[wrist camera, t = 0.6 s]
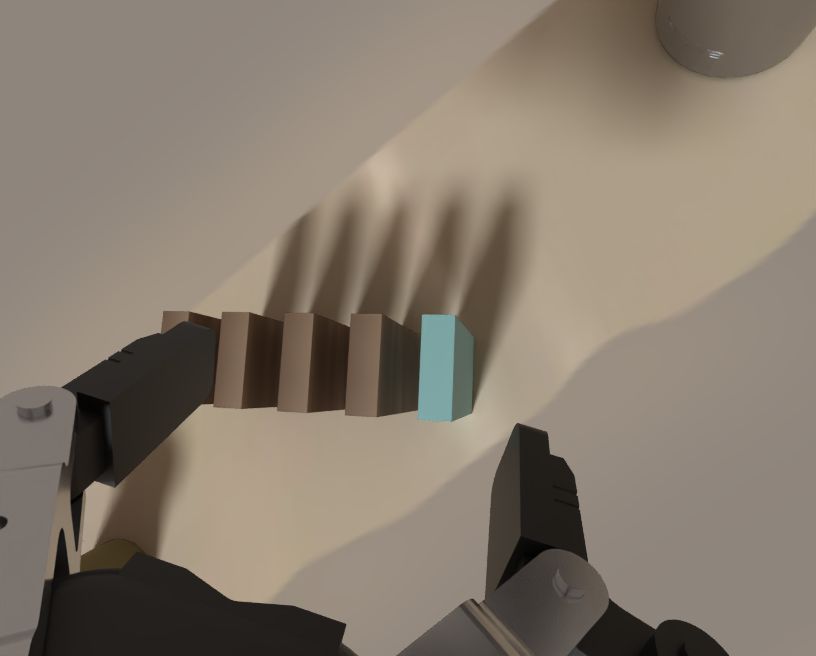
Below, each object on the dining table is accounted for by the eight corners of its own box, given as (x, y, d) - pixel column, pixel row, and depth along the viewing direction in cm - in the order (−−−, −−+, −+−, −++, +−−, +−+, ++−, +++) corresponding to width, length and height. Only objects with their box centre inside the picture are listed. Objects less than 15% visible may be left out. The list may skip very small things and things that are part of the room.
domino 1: (277, 333, 36) (189, 311, 27) (271, 402, 36) (179, 405, 26) (257, 332, 37) (163, 311, 27) (251, 400, 36) (153, 403, 26)
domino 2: (323, 334, 36) (249, 312, 26) (318, 404, 35) (241, 408, 25) (302, 333, 36) (222, 311, 26) (297, 403, 35) (213, 407, 26)
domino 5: (474, 337, 33) (455, 314, 24) (471, 413, 33) (451, 421, 23) (450, 337, 34) (422, 314, 24) (447, 411, 33) (417, 419, 23)
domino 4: (421, 336, 34) (381, 313, 24) (418, 410, 33) (376, 417, 24) (398, 335, 34) (351, 313, 25) (395, 408, 34) (344, 415, 24)
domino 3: (370, 335, 35) (313, 313, 25) (367, 407, 34) (306, 412, 25) (349, 334, 35) (284, 312, 25) (345, 405, 35) (277, 411, 25)
